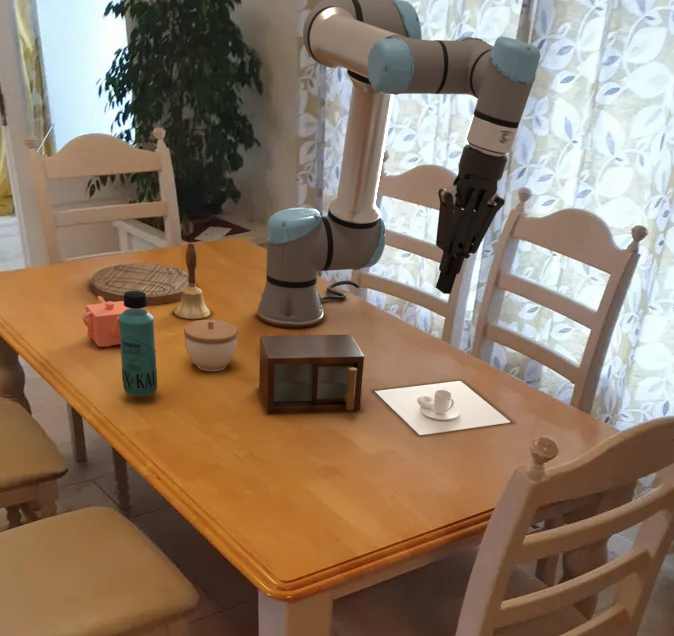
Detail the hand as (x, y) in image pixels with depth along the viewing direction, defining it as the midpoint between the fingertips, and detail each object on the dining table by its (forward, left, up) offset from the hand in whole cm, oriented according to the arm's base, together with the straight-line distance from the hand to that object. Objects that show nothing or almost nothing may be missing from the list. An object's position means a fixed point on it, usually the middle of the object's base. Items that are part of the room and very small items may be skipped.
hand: (442, 290), depth 161 cm
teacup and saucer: (-5, -1, -24) cm, 25 cm away
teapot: (+31, -64, -24) cm, 75 cm away
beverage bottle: (+41, -37, -24) cm, 60 cm away
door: (+15, -10, -22) cm, 29 cm away
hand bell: (+7, -69, -24) cm, 73 cm away
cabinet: (+15, -18, -24) cm, 33 cm away
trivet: (+7, -90, -24) cm, 93 cm away
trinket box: (+21, -42, -24) cm, 53 cm away
